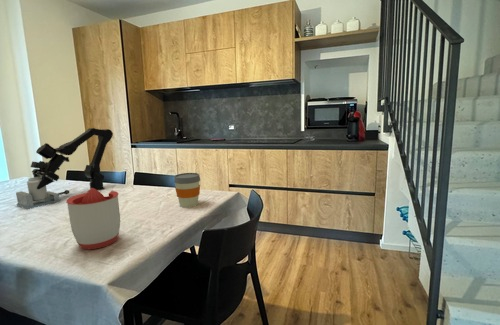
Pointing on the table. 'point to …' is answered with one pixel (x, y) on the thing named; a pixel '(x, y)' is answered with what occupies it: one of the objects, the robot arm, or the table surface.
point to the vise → (27, 202)
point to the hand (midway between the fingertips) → (34, 188)
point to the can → (36, 193)
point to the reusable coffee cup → (187, 189)
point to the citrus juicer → (94, 218)
